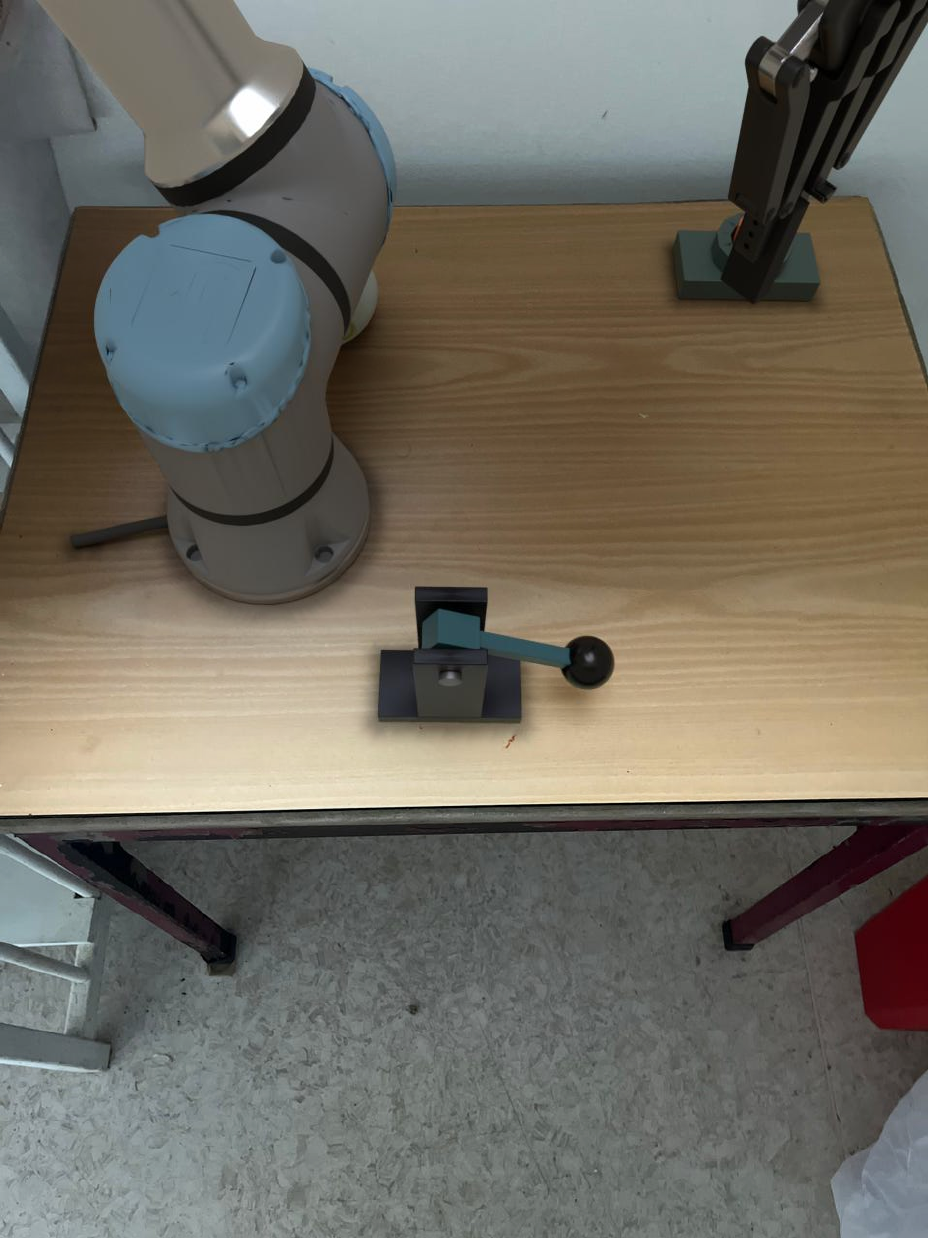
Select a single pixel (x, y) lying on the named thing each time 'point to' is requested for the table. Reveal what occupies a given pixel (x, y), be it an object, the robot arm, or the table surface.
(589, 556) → the table surface
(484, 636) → the switch lever
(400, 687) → the switch bracket
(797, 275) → the button box
